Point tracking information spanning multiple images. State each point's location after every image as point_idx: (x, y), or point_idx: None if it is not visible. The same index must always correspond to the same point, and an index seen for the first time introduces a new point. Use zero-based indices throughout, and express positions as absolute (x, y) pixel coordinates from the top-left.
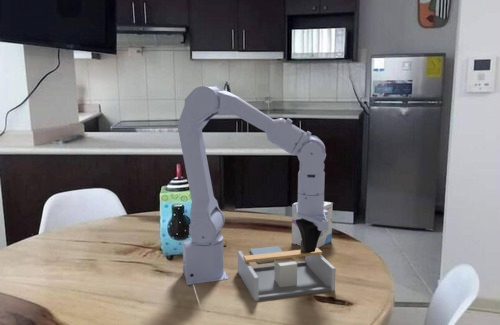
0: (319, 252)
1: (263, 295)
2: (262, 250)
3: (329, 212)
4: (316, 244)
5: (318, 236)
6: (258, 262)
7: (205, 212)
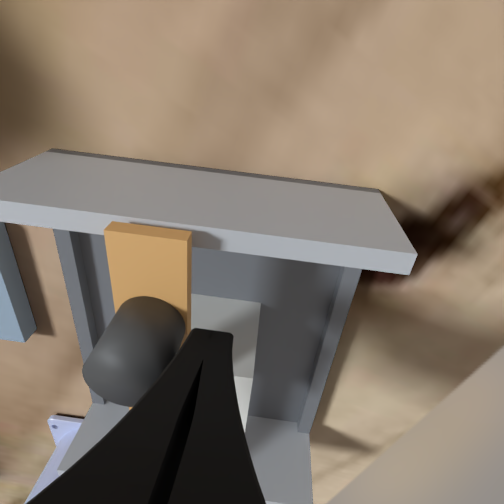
0: (188, 258)
1: (304, 421)
2: None
3: None
4: (233, 376)
5: (249, 457)
6: (30, 334)
7: None
